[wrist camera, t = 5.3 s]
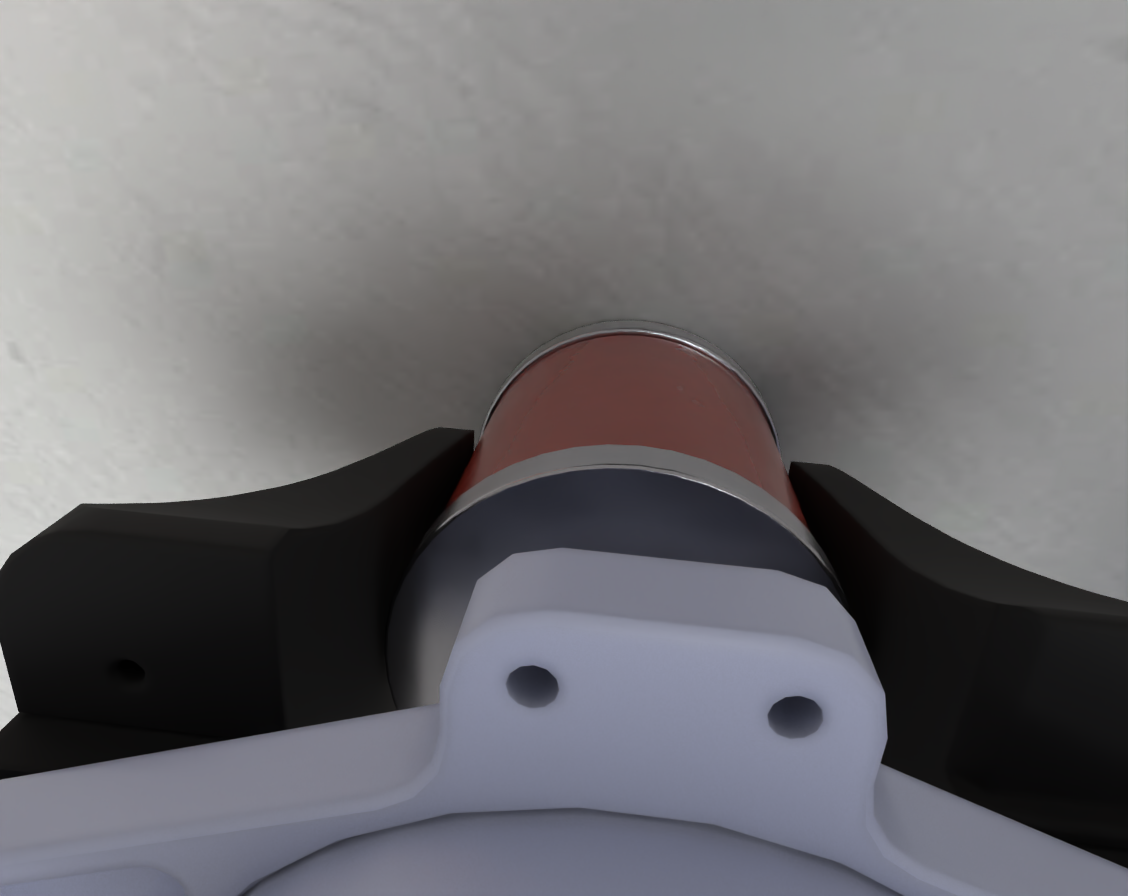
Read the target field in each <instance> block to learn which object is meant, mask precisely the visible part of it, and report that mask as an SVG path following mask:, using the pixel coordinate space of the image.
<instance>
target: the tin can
mask: <svg viewBox="0 0 1128 896" xmlns="http://www.w3.org/2000/svg"><path fill="white" fill-rule="evenodd" d="M555 548H570V549H580V550H589V551H599V552H608V553H618V554H627V555H637V556H646V557H656V558H665V559H675V560H684V561H694V562H703V563H713V564H722V565H732V566H741V567H751V568H760V569H770V570H779V571H781V572H784V573H787V574H790V575H793V576H796V577H799V578H801V579H804V580H807V581H810V582H813V583H816V584H819V585H822V586H824V587H826V588H827V589H828V590H829V591H830V592H831V593H832V595H833V596H834V597H835V598H836V599H837V600H838V602H839V603H840V604H841V605H842V606H843V607H844V609H845V610H846V611H847V612H848V613H849V614H850V616H851V617H852V618H853V616H852V613H851V610H850V607H849V604H848V601H847V599H846V596H845V594H844V591H843V589H842V587H841V584H840V582H839V579H838V577H837V575H836V573H835V571H834V569H833V567H832V565H831V563H830V561H829V559H828V558H827V556H826V554H825V552H824V551H823V549H822V548H821V546H820V545H819V544H818V542H817V541H816V540H815V538H814V537H813V535H812V534H811V533H810V530H809V528H808V525H807V523H806V520H805V517H804V515H803V512H802V510H801V507H800V505H799V502H798V500H797V497H796V494H795V492H794V489H793V487H792V484H791V482H790V479H789V477H788V474H787V471H786V469H785V466H784V464H783V461H782V459H781V450H780V445H779V439H778V434H777V432H776V429H775V426H774V423H773V420H772V417H771V414H770V412H769V410H768V407H767V405H766V403H765V401H764V399H763V397H762V395H761V393H760V391H759V390H758V388H757V387H756V386H755V384H754V383H753V381H752V380H751V379H750V377H749V376H748V375H747V373H746V372H745V371H744V370H743V369H742V368H741V367H740V366H739V365H738V364H737V363H736V362H735V361H734V360H733V359H732V358H731V357H729V356H728V355H727V354H726V353H724V352H723V351H722V350H721V349H719V348H718V347H716V346H715V345H713V344H711V343H710V342H708V341H706V340H705V339H703V338H701V337H699V336H697V335H694V334H692V333H690V332H687V331H685V330H683V329H679V328H676V327H673V326H669V325H666V324H662V323H655V322H648V321H640V320H617V321H608V322H600V323H596V324H591V325H587V326H583V327H580V328H577V329H574V330H572V331H569V332H566V333H564V334H561V335H560V336H558V337H556V338H554V339H552V340H550V341H549V342H547V343H545V344H543V345H542V346H541V347H539V348H538V349H536V350H535V351H534V352H532V353H531V354H530V355H528V356H527V357H526V358H525V359H524V360H523V361H522V362H521V363H520V364H519V365H518V366H517V367H516V368H515V369H514V370H513V372H512V373H511V374H510V375H509V377H508V378H507V379H506V380H505V382H504V383H503V385H502V386H501V388H500V390H499V392H498V393H497V395H496V397H495V398H494V400H493V402H492V404H491V406H490V408H489V410H488V413H487V415H486V418H485V420H484V423H483V425H482V429H481V434H480V438H479V442H478V444H477V446H476V448H475V450H474V452H473V454H472V456H471V458H470V460H469V462H468V464H467V466H466V468H465V470H464V472H463V474H462V476H461V478H460V480H459V482H458V484H457V486H456V488H455V490H454V492H453V494H452V496H451V498H450V500H449V502H448V504H447V506H446V508H445V510H444V511H443V512H442V513H441V514H440V516H439V517H438V518H437V519H436V520H435V522H434V523H433V524H432V525H431V527H430V528H429V529H428V530H427V532H426V533H425V534H424V536H423V538H422V539H421V541H420V543H419V544H418V546H417V548H416V550H415V551H414V553H413V555H412V557H411V558H410V560H409V562H408V564H407V566H406V568H405V570H404V572H403V574H402V576H401V577H400V580H399V582H398V585H397V587H396V590H395V593H394V595H393V598H392V600H391V603H390V608H389V613H388V617H387V622H386V627H385V646H384V655H385V664H386V673H387V680H388V684H389V687H390V691H391V695H392V699H393V702H394V705H395V707H396V709H397V711H398V710H403V709H409V708H415V707H421V706H426V705H432V704H438V703H439V702H440V684H441V681H442V678H443V675H444V672H445V669H446V666H447V663H448V661H449V658H450V655H451V652H452V649H453V646H454V643H455V641H456V638H457V635H458V632H459V629H460V627H461V624H462V621H463V618H464V615H465V613H466V610H467V607H468V604H469V602H470V599H471V596H472V593H473V590H474V588H475V585H476V582H477V580H478V579H479V578H481V577H482V576H483V575H485V574H486V573H488V572H489V571H490V570H492V569H493V568H494V567H496V566H497V565H498V564H500V563H501V562H502V561H504V560H505V559H507V558H508V557H509V556H511V555H512V554H515V553H523V552H531V551H539V550H547V549H555Z"/></svg>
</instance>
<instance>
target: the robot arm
mask: <svg viewBox="0 0 1128 896" xmlns="http://www.w3.org/2000/svg"><path fill="white" fill-rule="evenodd" d="M473 452H474V430H463V429H453V428H443V427H438V428H434V429H431V430H428V431H425V432H423V433H421V434H419V435H416V436H414V437H412V438H410V439H408V440H405V441H403V442H401V443H399V444H397V445H395V446H392V447H390V448H388V449H386V450H384V451H382V452H379V453H377V454H375V455H373V456H370V457H368V458H365V459H363V460H360V461H358V462H355V463H353V464H350V465H348V466H345V467H343V468H340V469H338V470H335V471H332V472H329V473H326V474H323V475H320V476H317V477H314V478H311V479H307V480H303V481H300V482H296V483H293V484H289V485H285V486H281V487H276V488H271V489H266V490H260V491H255V492H250V493H244V494H239V495H234V496H227V497H220V498H211V499H203V500H192V501H180V502H166V503H129V504H80V505H79V506H77V507H76V508H75V509H73V510H72V511H70V512H69V513H68V514H66V515H65V516H63V517H62V518H61V519H59V520H58V521H56V522H55V523H54V524H52V525H51V526H49V527H48V528H47V529H45V530H44V531H43V532H41V533H40V534H38V535H37V536H36V537H34V538H33V539H31V540H30V541H29V542H27V543H26V544H24V545H23V546H22V547H20V548H19V549H17V550H16V551H15V552H13V553H12V554H11V555H10V556H9V558H8V559H7V561H6V562H5V564H4V565H3V567H2V568H1V570H0V643H1V647H2V651H3V655H4V659H5V662H6V666H7V670H8V674H9V677H10V681H11V685H12V689H13V693H14V696H15V700H16V704H17V708H18V711H19V713H18V714H17V715H16V716H15V717H14V718H13V719H12V720H11V721H10V722H9V723H8V724H7V725H6V726H5V727H4V728H3V729H2V730H1V731H0V896H1128V602H1126V601H1122V600H1119V599H1115V598H1111V597H1107V596H1104V595H1100V594H1096V593H1093V592H1090V591H1086V590H1083V589H1080V588H1077V587H1073V586H1070V585H1067V584H1064V583H1061V582H1058V581H1055V580H1053V579H1050V578H1047V577H1044V576H1041V575H1038V574H1036V573H1033V572H1030V571H1027V570H1024V569H1022V568H1019V567H1017V566H1014V565H1012V564H1009V563H1007V562H1004V561H1002V560H1000V559H997V558H995V557H993V556H991V555H988V554H986V553H984V552H982V551H980V550H977V549H975V548H973V547H971V546H969V545H966V544H964V543H962V542H960V541H958V540H956V539H954V538H952V537H950V536H949V535H947V534H945V533H943V532H941V531H940V530H938V529H936V528H934V527H932V526H931V525H929V524H927V523H925V522H923V521H922V520H920V519H918V518H916V517H915V516H913V515H911V514H910V513H908V512H906V511H905V510H903V509H902V508H900V507H898V506H897V505H895V504H894V503H892V502H890V501H889V500H887V499H886V498H884V497H883V496H881V495H879V494H878V493H876V492H875V491H873V490H872V489H870V488H869V487H867V486H865V485H864V484H862V483H861V482H859V481H858V480H856V479H854V478H853V477H851V476H849V475H848V474H846V473H844V472H843V471H841V470H839V469H837V468H835V467H832V466H830V465H824V464H814V463H803V462H793V461H791V464H790V469H789V474H788V477H789V479H790V482H791V484H792V487H793V489H794V492H795V494H796V497H797V500H798V502H799V505H800V507H801V510H802V512H803V515H804V517H805V520H806V523H807V525H808V528H809V530H810V533H811V534H812V535H813V537H814V538H815V540H816V541H817V542H818V544H819V545H820V546H821V548H822V549H823V551H824V552H825V554H826V556H827V558H828V559H829V561H830V563H831V565H832V567H833V569H834V571H835V573H836V575H837V577H838V579H839V582H840V584H841V587H842V589H843V591H844V594H845V596H846V599H847V601H848V604H849V607H850V610H851V613H852V616H853V618H852V617H851V616H850V614H849V613H848V612H847V611H846V610H845V609H844V607H843V606H842V605H841V604H840V603H839V602H838V600H837V599H836V598H835V597H834V596H833V595H832V593H831V592H830V591H829V590H828V589H827V588H826V587H824V586H822V585H819V584H816V583H813V582H810V581H807V580H804V579H801V578H799V577H796V576H793V575H790V574H787V573H784V572H781V571H779V570H770V569H760V568H751V567H741V566H732V565H722V564H713V563H703V562H694V561H684V560H675V559H665V558H656V557H646V556H637V555H627V554H618V553H608V552H599V551H589V550H580V549H570V548H555V549H547V550H539V551H531V552H523V553H515V554H512V555H511V556H509V557H508V558H507V559H505V560H504V561H502V562H501V563H500V564H498V565H497V566H496V567H494V568H493V569H492V570H490V571H489V572H488V573H486V574H485V575H483V576H482V577H481V578H479V579H478V580H477V582H476V585H475V588H474V590H473V593H472V596H471V599H470V602H469V604H468V607H467V610H466V613H465V615H464V618H463V621H462V624H461V627H460V629H459V632H458V635H457V638H456V641H455V643H454V646H453V649H452V652H451V655H450V658H449V661H448V663H447V666H446V669H445V672H444V675H443V678H442V681H441V684H440V702H439V703H438V704H432V705H426V706H421V707H415V708H409V709H403V710H398V711H397V709H396V707H395V705H394V702H393V699H392V695H391V691H390V687H389V684H388V680H387V673H386V664H385V655H384V646H385V627H386V622H387V617H388V613H389V608H390V603H391V600H392V598H393V595H394V593H395V590H396V587H397V585H398V582H399V580H400V577H401V576H402V574H403V572H404V570H405V568H406V566H407V564H408V562H409V560H410V558H411V557H412V555H413V553H414V551H415V550H416V548H417V546H418V544H419V543H420V541H421V539H422V538H423V536H424V534H425V533H426V532H427V530H428V529H429V528H430V527H431V525H432V524H433V523H434V522H435V520H436V519H437V518H438V517H439V516H440V514H441V513H442V512H443V511H444V510H445V508H446V506H447V504H448V502H449V500H450V498H451V496H452V494H453V492H454V490H455V488H456V486H457V484H458V482H459V480H460V478H461V476H462V474H463V472H464V470H465V468H466V466H467V464H468V462H469V460H470V458H471V456H472V454H473Z"/></svg>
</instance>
